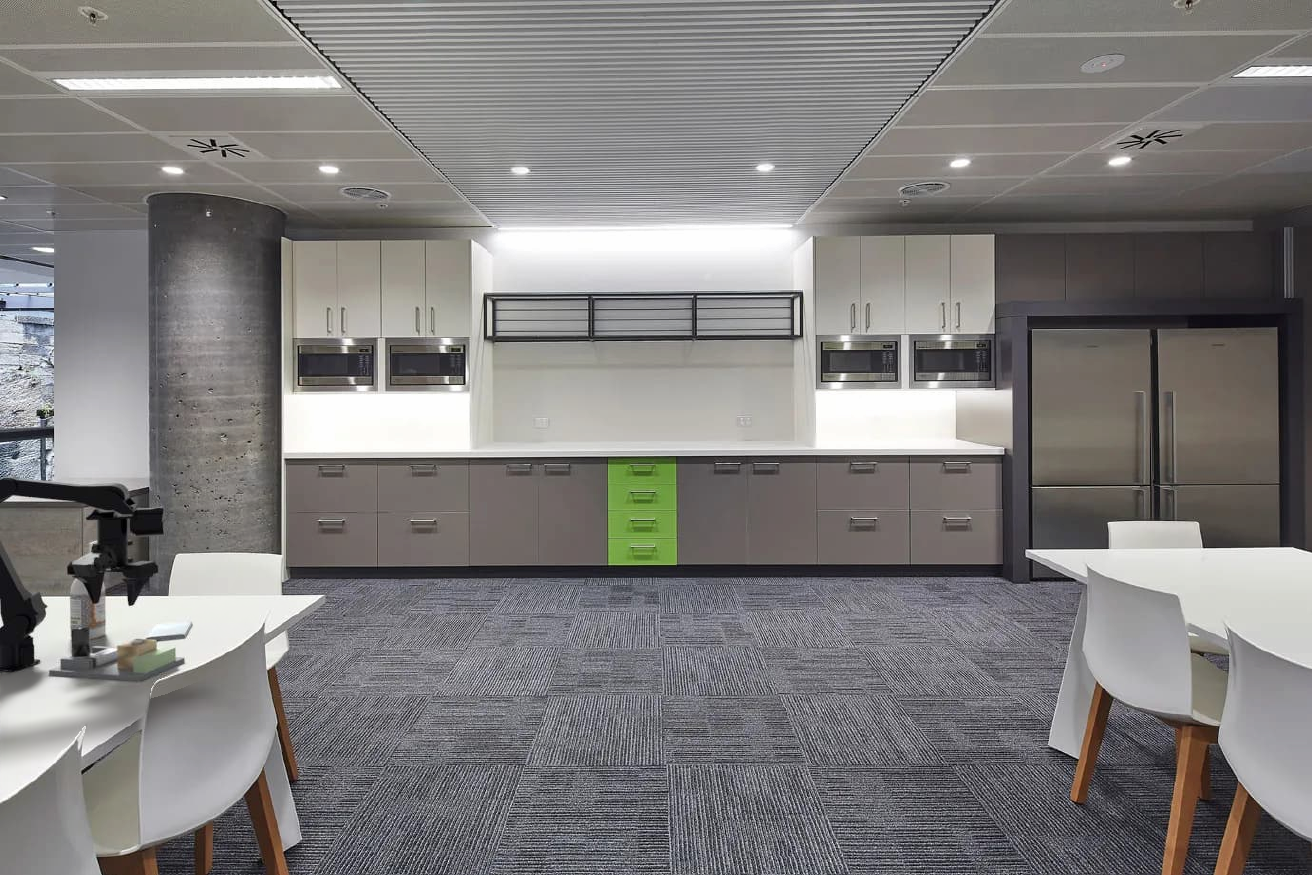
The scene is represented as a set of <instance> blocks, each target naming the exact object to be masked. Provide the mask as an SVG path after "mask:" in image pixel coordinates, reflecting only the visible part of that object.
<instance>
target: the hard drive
mask: <svg viewBox="0 0 1312 875" xmlns="http://www.w3.org/2000/svg"><path fill="white" fill-rule="evenodd" d="M192 626H193V621H192V620H188V621H187V620H186V621H184V620H183V621H175V622H165V623H157V624H155V626H154V627H153V628H152V629H151V631H150V632H149V633H148V635H147V636H146V638H145V639H150V640H158V641H166V640H165V639H168V640H175V639H176V638H178V639H185V638H186V637H187V635H188V633H189V632H190V629H191V628H192ZM163 639H164V640H163ZM176 640H177V639H176Z"/></svg>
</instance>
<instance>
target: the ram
mask: <svg viewBox="0 0 1312 875" xmlns="http://www.w3.org/2000/svg"><path fill="white" fill-rule="evenodd" d="M70 638H71V655H70V656H69V657H70V658H84V659H93V667H98V666H100V665H103V664H105V663H108V662H111V661H113V660H116V659H117V649H113V648H108V649H105V650H102V651H100V652H97V653H94V654H92V653H91V645H90V644H91V639H90V627H89V626H79V627H75V628H72V629H70Z"/></svg>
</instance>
